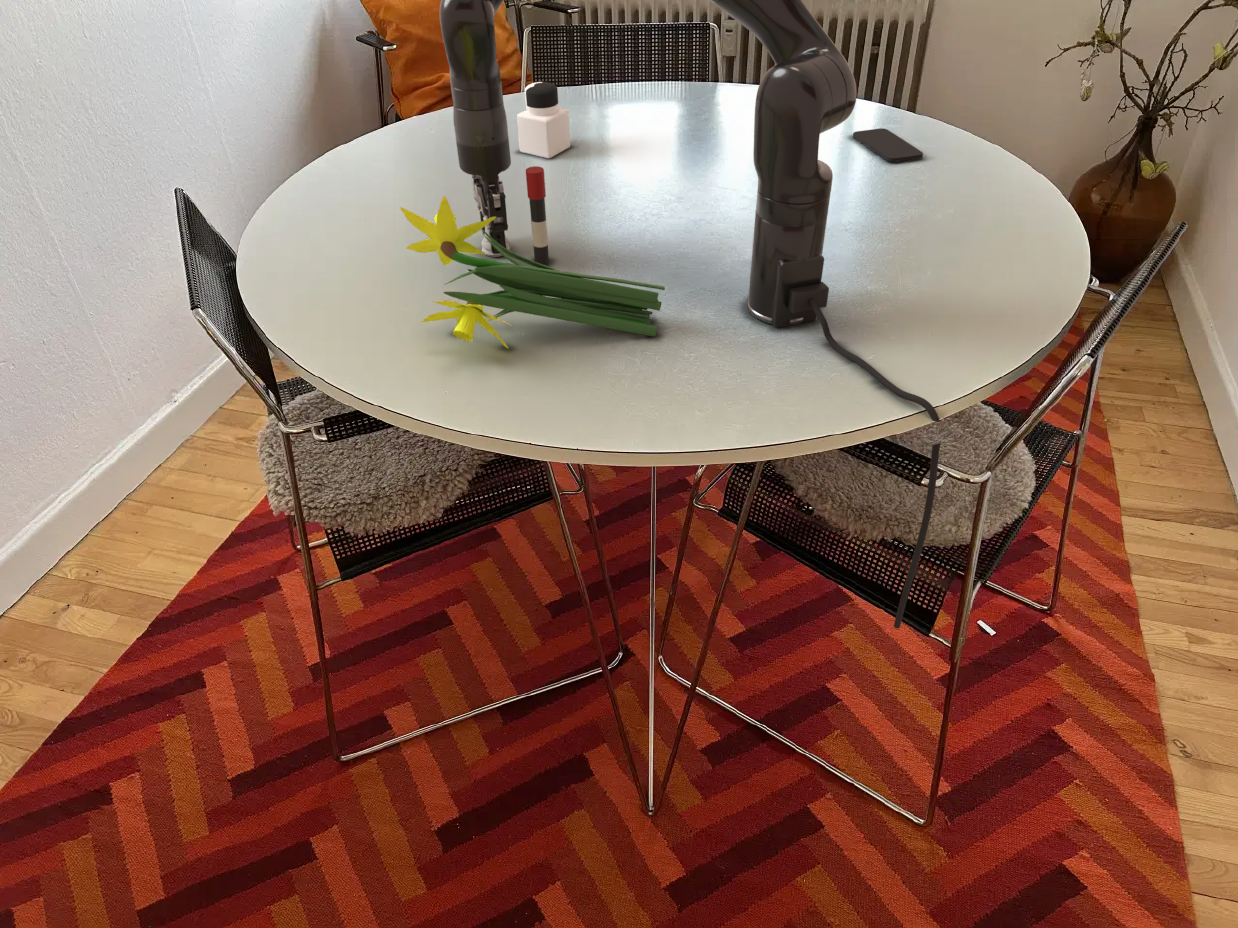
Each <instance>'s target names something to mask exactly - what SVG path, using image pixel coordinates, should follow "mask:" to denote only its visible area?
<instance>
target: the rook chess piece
mask: <svg viewBox="0 0 1238 928" xmlns="http://www.w3.org/2000/svg"><path fill="white" fill-rule="evenodd" d="M486 209H488V207H486ZM483 220H484V221H485V220H487V219H486V217H485V216H484V218H483ZM495 222H500V218H495V219H494V223H495ZM487 226H488V224H487V225H486V226H485V232H486V233H487V234H488V235H489V230H488V228H487ZM484 235H485V236H486V234H484ZM484 235H483V236H482V238H483V239H482V240H481V243H480V244H481V245H480V246H481V251H482V252H484V253H485V254H484V255H486V256H487V257H489V258H500V257H504V256H503V255H502V254H501V253H499V254H493V253H492V251H491V244H490V242H489V241H488V240H487V239H486V237H487V236H486V237H485V236H484ZM487 238H488V237H487ZM488 239H489V238H488ZM489 240H490V239H489ZM505 241H506V249H508V250H509V251H510V249H511V246H510V245H509V244H510V240H509V238H508V237H507V236H506V235H505ZM505 254H506V253H505ZM506 255H507V254H506Z"/></svg>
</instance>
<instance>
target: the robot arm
mask: <svg viewBox="0 0 1238 928" xmlns="http://www.w3.org/2000/svg"><path fill="white" fill-rule="evenodd" d="M504 1H505V0H440V3H439V23H440V30H441V37H442V41H443V45H444V50H445V55H446V59H447V64H448V66H449V81H450V82H449V83H450V84H449V85H450V90H451V98H452V105H453V106H452V108H453V114H452V115H453V128H454V135H455V141H456V142H455V143H456V151H457V158H458V165H459V166H458V167H459V168H460V170H461V171H462V172H463V173H465V174H467V175H471V184H472V188H473V196H474V197H473V199H474V201H475V203H477V204H476V207H477V210H478V211H479V218H480V222H481V221H484V220H483V218H484V216H485V217H486V219H489V218H490V217H496V218H500V222H495V223H494V220H493V221H491V222H490V223H489V224H488V226H487V228H488V230H489V235H490V236H491V237H492V238H493V239H494V240H495V241H496V242H498V243H499V244H500V245H501V246H503V247H504V248H506V241H505V236H506V233H505V231H508V229H509V225H508V216H507V203H506V194H505V192H504V191H505V188H504V183H503V181H502V180H500V176H499V174H501V173H503V172H505V171H507V170H508V169H509V168H510V166H511V165H512V158H511V149H510V139H509V138H510V137H509V127H508V119H507V112H506V108H505V104H504V103H505V102H504V95H503V83H502V76H501V69H500V65H499V63H498V61H497V46H496V30H495V29H496V28H495V27H496V26H495V15H496V14H497V12H498V10H499V8H500V7H501V5H502V4H503V3H504ZM710 2H712V3H713V4H714V5H715V6H716V7H718V9H720V10H722V11H723V12H724V13H725V14H726V15H728V16H730V17H731V18H732V19H733V20H735V21H736V22H737V23H738V24H740V25H741V26H743V27H744V28H746V29H747V30H748V31H749V32H751V33H752V34H753V36H754V37H756V38H757V39H758V41H759V42H760V43H761V45H763V47H764V49H766V51H767V52H768V54H769V56H770V57H771V59H772V61H773V62H774V63H775V65H773V66H772V67H771V68H769V69H768V70H767V71H766V72H765V73H764V75H763V76H762V78H761V80H760V82H759V85H758V87H757V91H756V96H755V102H754V103H755V105H754V119H753V122H754V124H753V165H754V169H755V172H756V175H757V191H756V192H757V193H756V204H755V215H754V224H753V226H754V227H753V238H752V239H753V240H752V251H751V261H750V262H751V263H750V265H751V266H750V273H749V276H750V277H749V289H748V298H747V304H746V307H747V311H748V312H749V314H750V315H751V316H752V317H754V318H755V319H757V320H759V321H761V322H764V323H767V324H770V325H772V326H773V327H774V328H775V329H776V328H777V329H778V328H783V327H789V326H793V325H799V324H804V323H808V322H814V321H816V320H817V319H818V321H819V323H820V326H821V329H822V331H823V335H824V338H825V340H826V342H827V343H828V345H830V347H831V348H832V349H833V350H834V351H835V352H837V353H838V354H839V355H841V356H842V357H844V358H846V359H847V360H848V361H851V362H853V363H855V364H856V365H857V366H859V367H861V368H862V369H863V370H864V371H865V372H867V373H868V374H869V375H870V376H871V377H873V378H874V379H875V380H876V381H877V382H878V383H880V385H882V386H883V387H885V388H886V389H887V390H888V391H890V392H892V393H893V394H894V395H895V396H897V397H900V398H901V399H903V400H906V401H908V402H912V403H915V404H917V405H919V406H921V407H922V408H923V409H924V410H925V411H926V412H927V413H928V415H929V417H930V419H931V421H932V422H936V423H939V422H940V417H939V414H938V412H937V410H936V409H935V407H934V406H933V404H931V402H929V401H928V400H927V399H925V398H923V397H921V396H920V395H917V394H913V393H911V392H908V391H905V390H903V389H901V388H900V387H898V386H896V385H895V384H894V383H892V382H891V381H890V380H888V379H887V378H886V377H885V376H883V375H882V374H881V373H880V372H879V371H878V370H876V369H875V368H874V367H873V366H872V365H871V364H870V363H868V362H867V361H866V360H864V359H862V358H861V357H860V356H858V355H856V354H854V353H852V352H851V351H849V350H848V349H847V350H846V349H845V348H843V347H842V346H841V345H840V344H839V343H837V341H836V340H835V339H834V337H833V336H832V334H831V330H830V326H829V322H828V320H827V319H826V317H825V315H824V313H823V312H822V310H821V309H825V308H827V306H828V298H829V292H830V288H829V286H828V285H826V283H824V281H822V279H823V273H824V265H825V257H824V255H823V251H824V244H825V238H826V229H827V221H828V215H829V207H830V200H831V192H832V188H833V187H832V186H833V178H834V177H833V171H832V168H831V167H830V165H828V164H827V163H825V162H824V161H823V160H820V159H819V145H820V136H821V134H823V133H825V132H827V131H829V130H832V129H834V128H836V127H837V126H839V125H841V124H842V123H843V122H845V121H846V120H847V119H848V118H849V117H851V115H852V113H853V111H854V109H855V106H856V103H857V93H858V92H857V83H856V79H855V76H854V73H853V71H852V68H851V67H850V65H849V63H848V60H846V58H845V57H844V55H843V53H842V52H841V50H839V48H838V47H837V46H836V44H835V43H834V42H833V40H832V39H831V38H830V36H829V35H828V34H827V32H826V31H825V30H824V28H823V27H822V26H821V24H820V23H819V22H818V21H817V19H816V18H815V16H814V15H813V14H812V12H811V11H810V10H809V9H808V7H807V6H806V3H804V1H803V0H710ZM486 207H488V209H486ZM482 229H483V230H484V231H485V227H484V228H482ZM482 229H481V232H482V235H483V234H484V235H485V233H484V232H483V231H482ZM490 241H491V240H490ZM491 242H492V241H491ZM492 243H493V242H492ZM490 244H491V243H490ZM493 244H494V243H493ZM494 245H495V244H494ZM495 246H496V245H495ZM491 251H492V253H493V254H499V253H500V252H498V251H497V250H496V249H495V248H494V247H493V246H492V245H491ZM940 448H941V443H940V442H939V443H935V444H932V446H931V454H930V464H929V465H930V466H929V477H928V485H927V493H926V499H925V503H924V511H923V514H922V519H921V525H920V529H919V533H918V538H917V540H916V544H915V548H914V551H913V555H912V557H911V558H912V559H911V561H910V565H909V569H908V571H907V575H906V578H905V582H904V585H903V588H902V591H901V596H900V599H899V603H898V607H897V610H896V614H895V619H894V624H893V627H894V628H895V629H900V628H901V624H902V621H903V618H904V617H903V616H904V612H905V609H906V605H907V602H908V598H909V595H910V591H911V588H912V584H913V581H914V578H915V575H916V572H917V568H918V565H919V561H920V558H921V556H922V552H923V548H924V544H925V541H926V538H927V533H928V529H929V525H930V521H931V516H932V510H933V504H934V500H935V494H936V487H937V478H938V469H939V468H938V467H939V457H940Z"/></svg>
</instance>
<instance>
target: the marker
mask: <svg viewBox="0 0 1238 928" xmlns="http://www.w3.org/2000/svg"><path fill="white" fill-rule="evenodd" d="M525 179H526V180H525V181H526V190H527V191H526V192H527V198H528V200H529V210H530V224H531V237H532V247H533V259H534V262H537V263H539V264H542V265H545V266H547V265H548V264H550V253H549V238H548V237H549V236H548V225H547V224H548V222H547V212H546V196H547V195H546V181H545V169H544V168H543V167H541V166H537V165H536V166H535V165H534V166H529V167H526V169H525Z"/></svg>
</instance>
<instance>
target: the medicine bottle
mask: <svg viewBox="0 0 1238 928" xmlns="http://www.w3.org/2000/svg"><path fill="white" fill-rule="evenodd" d="M558 92H559V91H558V87H557V86H556V84H555V83H552V82H548V81H537V82H532V83H530V84H528V85H527V86H526V87H525V88H524V97H525V98H524V99H525V110H523V111H521V112H518V114H516V122H517V135H518V145H519V152H520V153H523V154H527V155H533V156H537V157H541V158H546V159H551V158H554V157H555V156H556V155H558V154H560V153H562V152H563V151H565V150H567V149H569V148H570V147H571V134H570V133H571V132H570V114H569V113H570V112H569V110H568V109H567V108H561V107H559V93H558Z"/></svg>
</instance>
